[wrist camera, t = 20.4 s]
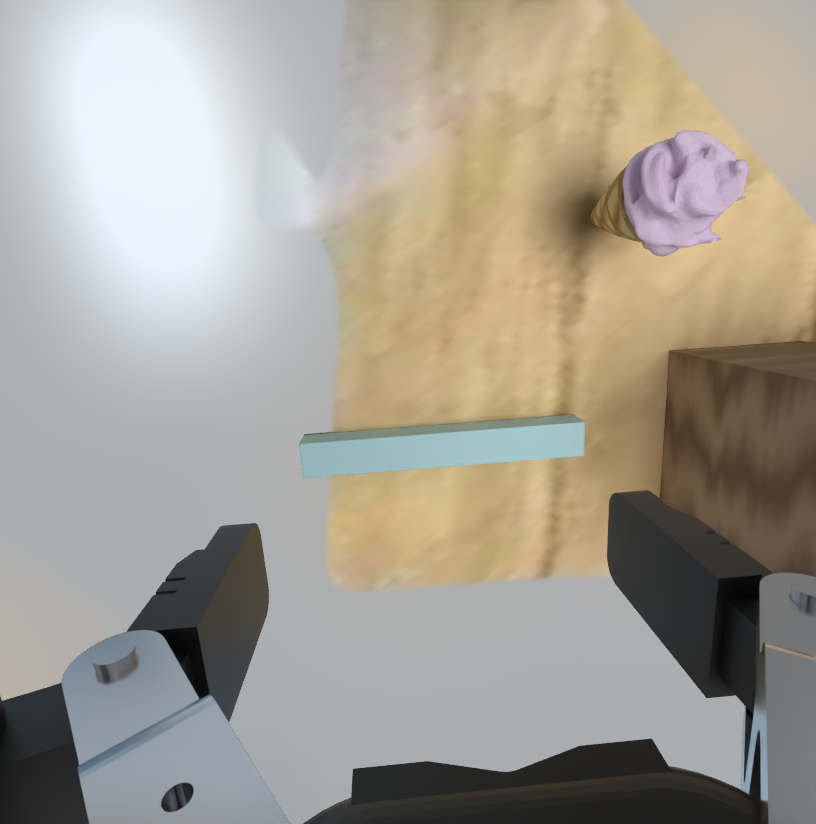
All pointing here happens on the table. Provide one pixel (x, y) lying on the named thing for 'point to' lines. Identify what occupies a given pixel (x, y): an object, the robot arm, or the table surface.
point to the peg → (441, 445)
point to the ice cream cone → (672, 193)
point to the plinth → (746, 447)
